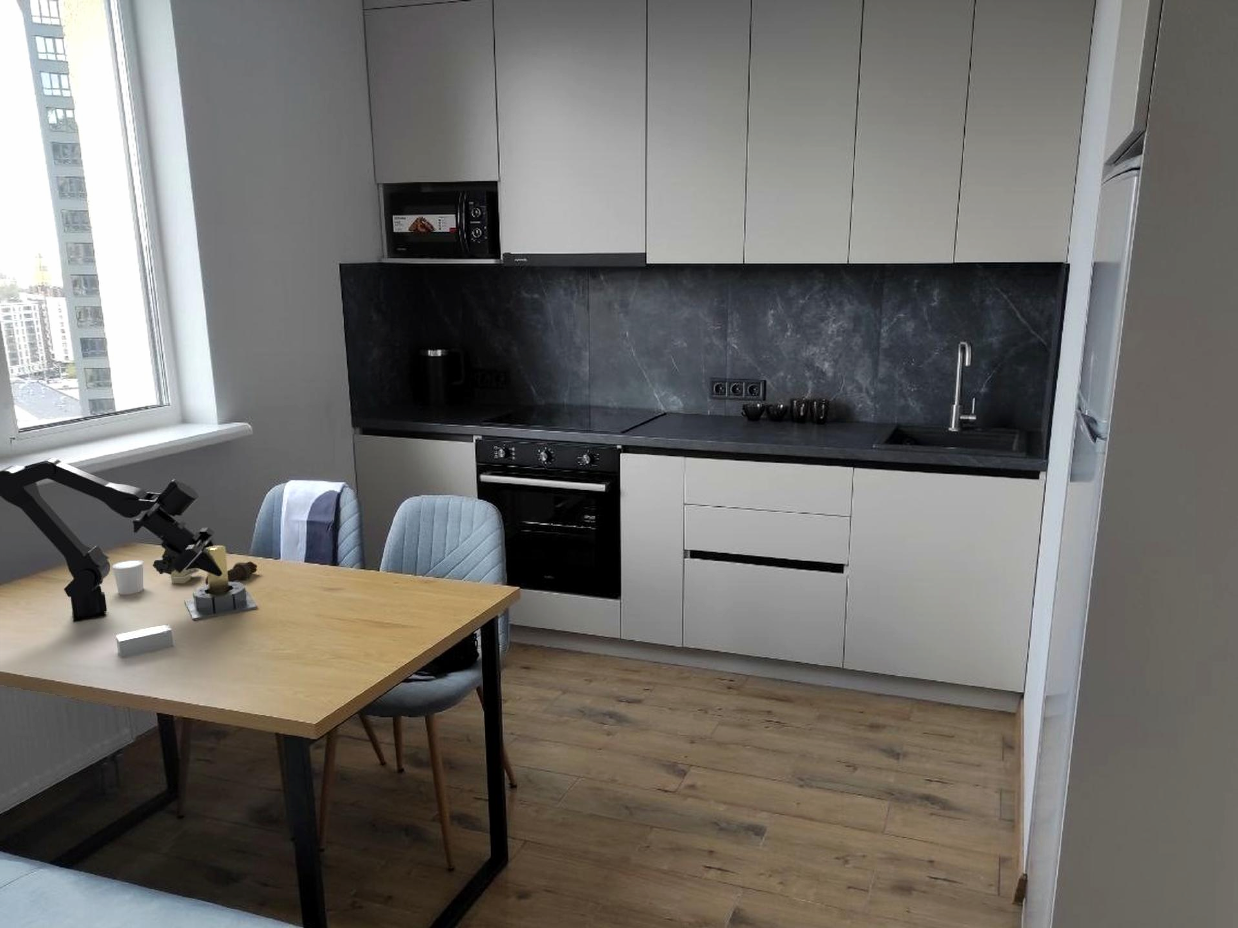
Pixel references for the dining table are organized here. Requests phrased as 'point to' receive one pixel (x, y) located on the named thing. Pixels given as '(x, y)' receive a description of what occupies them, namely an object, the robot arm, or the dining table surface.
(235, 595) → the socket block
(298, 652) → the dining table surface
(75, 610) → the robot arm
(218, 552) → the pale yellow tall bar
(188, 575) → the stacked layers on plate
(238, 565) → the bolt
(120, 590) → the shot glass
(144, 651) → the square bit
